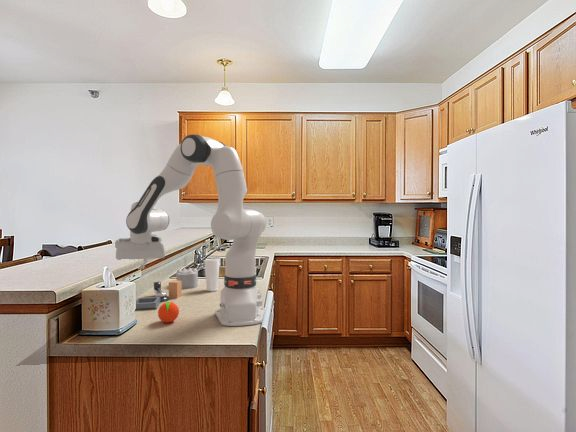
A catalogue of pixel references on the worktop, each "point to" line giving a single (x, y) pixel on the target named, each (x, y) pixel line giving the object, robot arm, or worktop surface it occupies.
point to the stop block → (175, 289)
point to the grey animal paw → (187, 278)
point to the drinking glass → (212, 273)
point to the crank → (159, 290)
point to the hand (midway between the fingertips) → (141, 268)
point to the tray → (147, 303)
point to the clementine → (168, 312)
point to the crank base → (164, 299)
